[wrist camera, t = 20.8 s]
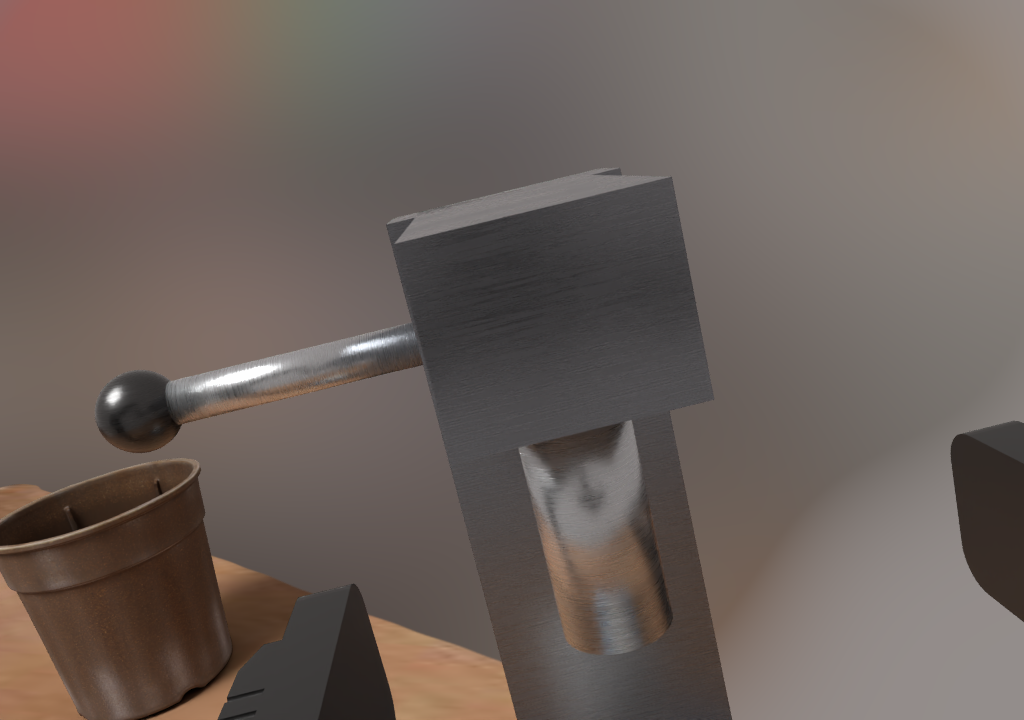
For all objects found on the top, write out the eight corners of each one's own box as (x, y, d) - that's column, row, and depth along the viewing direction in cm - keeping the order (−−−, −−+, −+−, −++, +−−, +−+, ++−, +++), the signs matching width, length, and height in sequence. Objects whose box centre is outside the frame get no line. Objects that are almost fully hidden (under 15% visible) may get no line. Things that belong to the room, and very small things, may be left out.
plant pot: (83, 659, 78) (19, 494, 75) (264, 603, 81) (210, 440, 77) (23, 774, 63) (-61, 571, 59) (250, 700, 65) (182, 501, 62)
